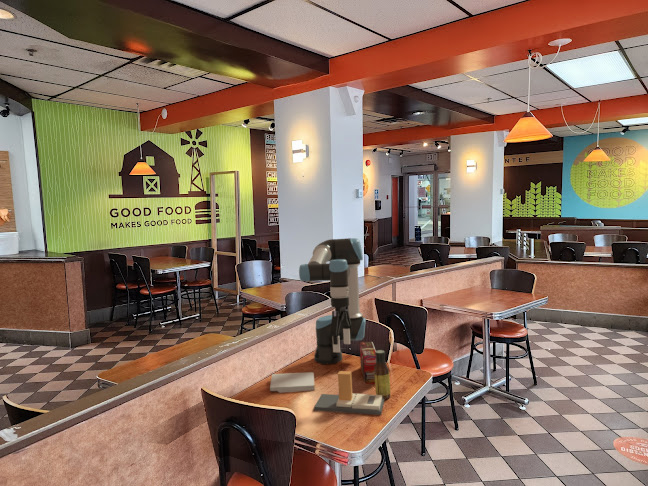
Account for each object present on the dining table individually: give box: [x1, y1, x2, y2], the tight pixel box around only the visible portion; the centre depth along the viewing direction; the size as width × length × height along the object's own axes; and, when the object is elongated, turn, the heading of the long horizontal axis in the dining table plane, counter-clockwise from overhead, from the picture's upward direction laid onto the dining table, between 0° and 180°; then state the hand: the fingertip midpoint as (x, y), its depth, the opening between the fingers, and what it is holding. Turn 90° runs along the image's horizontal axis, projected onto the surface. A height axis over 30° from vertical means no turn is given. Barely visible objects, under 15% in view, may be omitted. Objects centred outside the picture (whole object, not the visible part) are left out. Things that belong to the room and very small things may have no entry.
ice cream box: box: [359, 341, 377, 385], centre depth 207 cm, size 20×6×13 cm, turn 1°
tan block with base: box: [336, 370, 356, 407], centre depth 177 cm, size 10×6×12 cm, turn 166°
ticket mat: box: [313, 393, 385, 416], centre depth 177 cm, size 12×27×3 cm, turn 76°
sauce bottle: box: [374, 349, 392, 400], centre depth 183 cm, size 6×6×20 cm
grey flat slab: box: [269, 371, 316, 394], centre depth 201 cm, size 15×3×20 cm
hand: (342, 347), depth 178 cm, fingers open, 13 cm apart
